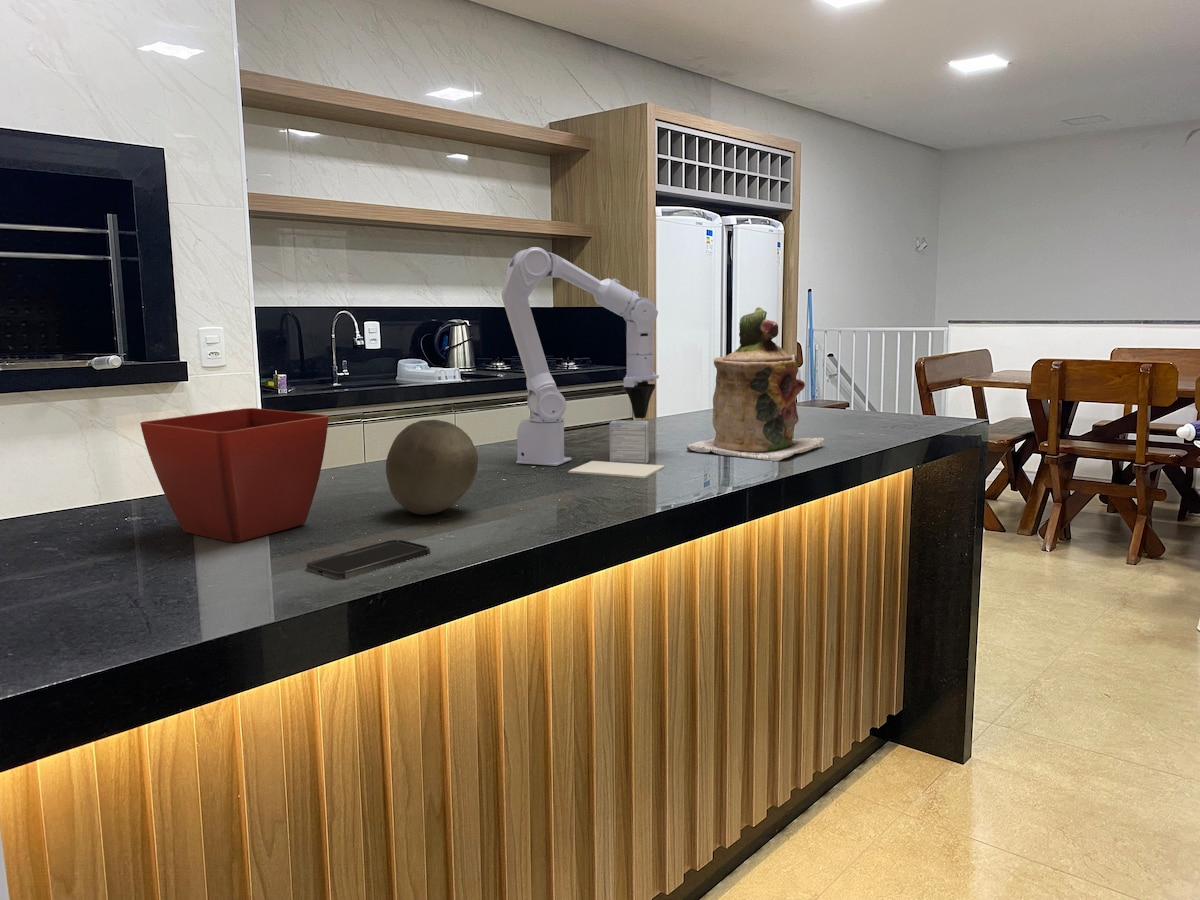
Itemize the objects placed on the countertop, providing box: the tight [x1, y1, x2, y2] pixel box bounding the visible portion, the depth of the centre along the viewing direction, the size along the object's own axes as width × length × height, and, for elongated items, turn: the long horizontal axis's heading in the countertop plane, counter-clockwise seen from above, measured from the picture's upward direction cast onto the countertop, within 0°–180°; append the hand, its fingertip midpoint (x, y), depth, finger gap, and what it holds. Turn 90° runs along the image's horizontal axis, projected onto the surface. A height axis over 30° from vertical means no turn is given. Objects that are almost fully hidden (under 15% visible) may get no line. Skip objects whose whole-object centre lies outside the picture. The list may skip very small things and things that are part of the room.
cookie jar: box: [685, 306, 825, 462], centre depth 202 cm, size 25×25×32 cm
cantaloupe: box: [385, 419, 479, 516], centre depth 143 cm, size 14×14×15 cm
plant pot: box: [140, 407, 329, 543], centre depth 134 cm, size 19×19×17 cm
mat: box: [567, 460, 666, 479], centre depth 180 cm, size 16×12×1 cm
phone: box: [306, 539, 431, 580], centre depth 118 cm, size 8×1×15 cm
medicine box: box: [609, 419, 650, 464], centre depth 188 cm, size 8×4×9 cm, turn 82°
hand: (640, 417), depth 194 cm, fingers closed
